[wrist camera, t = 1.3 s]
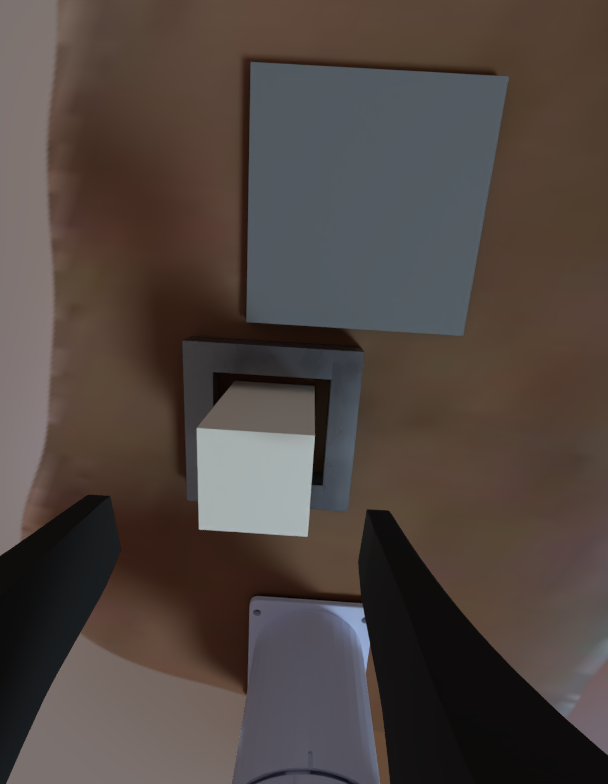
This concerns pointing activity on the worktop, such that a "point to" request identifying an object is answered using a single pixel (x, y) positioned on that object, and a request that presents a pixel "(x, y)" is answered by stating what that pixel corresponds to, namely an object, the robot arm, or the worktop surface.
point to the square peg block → (257, 459)
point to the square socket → (284, 360)
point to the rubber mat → (367, 195)
